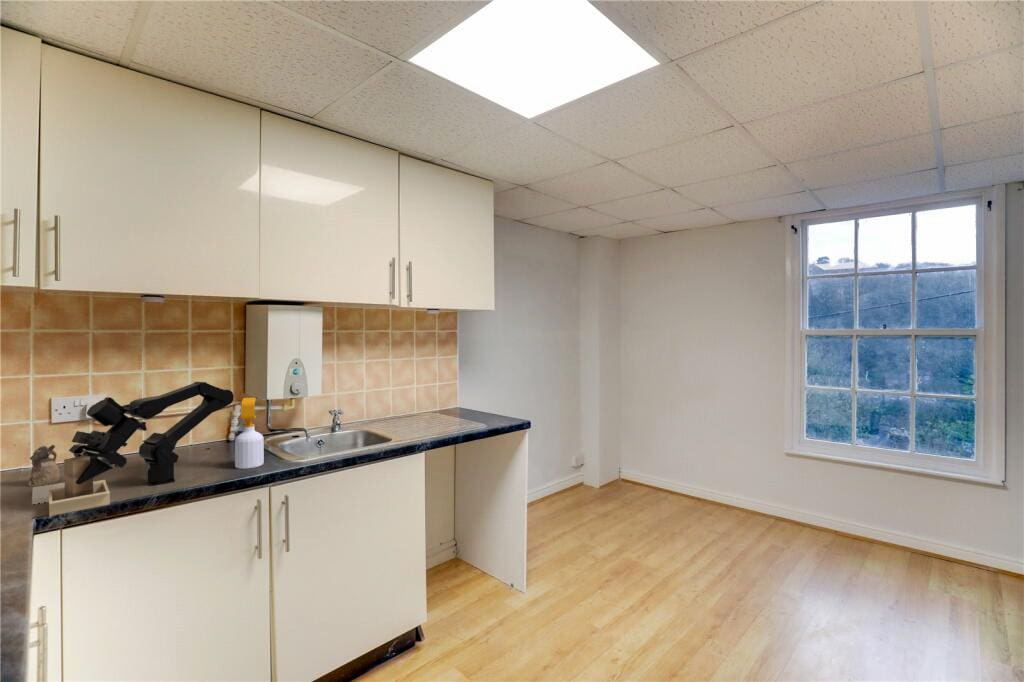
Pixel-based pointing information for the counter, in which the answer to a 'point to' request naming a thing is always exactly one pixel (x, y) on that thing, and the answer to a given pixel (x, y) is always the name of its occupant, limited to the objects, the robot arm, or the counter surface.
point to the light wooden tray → (78, 499)
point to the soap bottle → (249, 440)
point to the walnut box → (76, 477)
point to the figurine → (44, 467)
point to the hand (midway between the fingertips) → (72, 482)
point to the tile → (43, 493)
